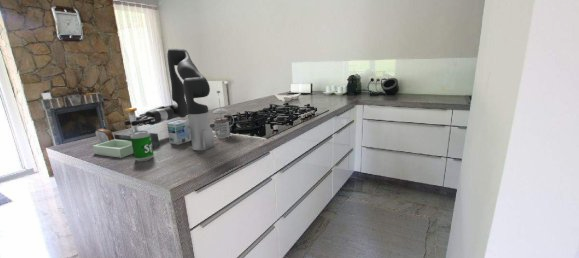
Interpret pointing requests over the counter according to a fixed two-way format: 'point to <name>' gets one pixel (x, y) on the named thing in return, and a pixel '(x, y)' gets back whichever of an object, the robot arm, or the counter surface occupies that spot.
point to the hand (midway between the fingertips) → (128, 123)
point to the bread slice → (104, 135)
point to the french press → (218, 122)
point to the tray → (114, 148)
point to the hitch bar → (127, 134)
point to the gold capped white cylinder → (132, 118)
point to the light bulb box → (179, 131)
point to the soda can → (142, 145)
